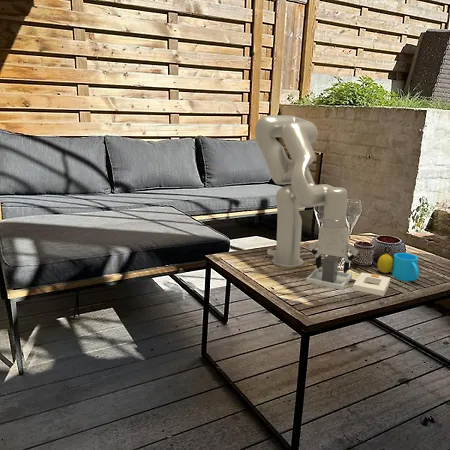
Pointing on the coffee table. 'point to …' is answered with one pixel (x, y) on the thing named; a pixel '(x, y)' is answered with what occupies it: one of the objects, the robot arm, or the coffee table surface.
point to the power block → (369, 288)
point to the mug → (405, 267)
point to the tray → (337, 284)
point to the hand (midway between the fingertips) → (331, 269)
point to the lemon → (385, 263)
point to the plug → (330, 269)
